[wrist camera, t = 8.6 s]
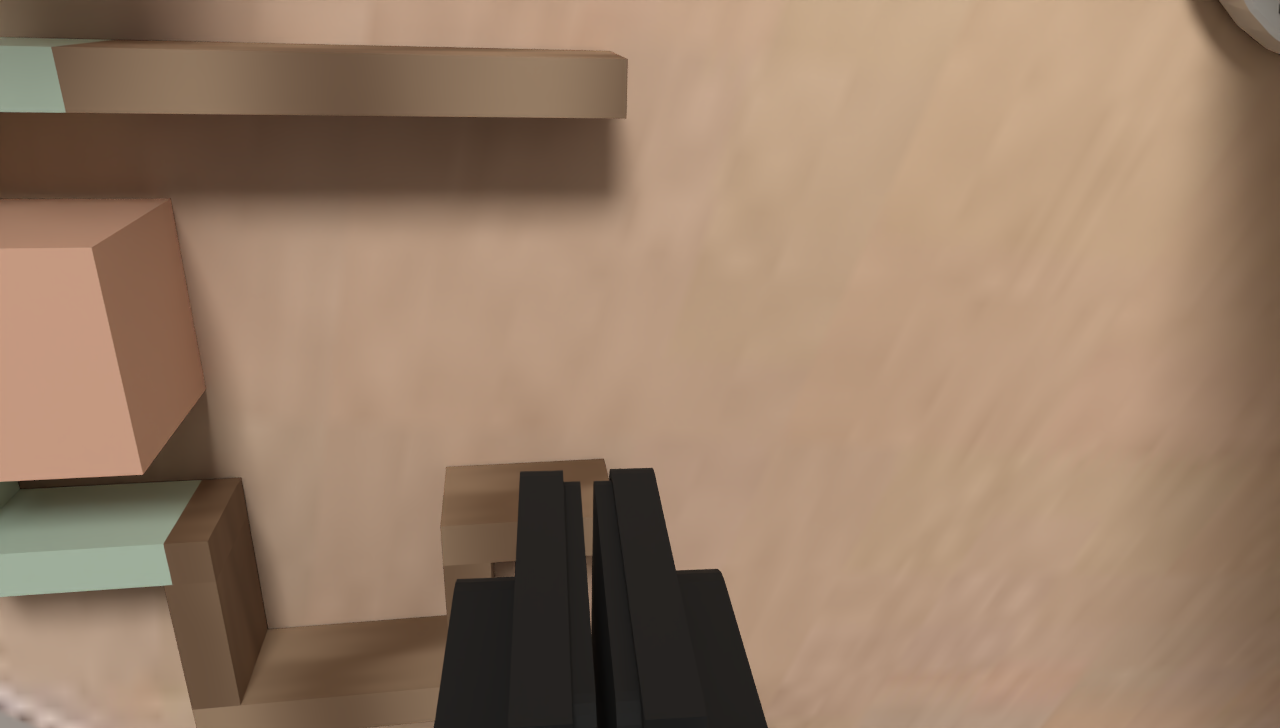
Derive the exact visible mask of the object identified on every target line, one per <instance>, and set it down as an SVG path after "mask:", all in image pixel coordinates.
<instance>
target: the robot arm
mask: <svg viewBox="0 0 1280 728" xmlns="http://www.w3.org/2000/svg"><path fill="white" fill-rule="evenodd" d="M1219 1H1220V2H1221V4H1222V5H1223V6H1224V8H1225V9H1226V11H1227V12H1228V13H1229V15H1230V16H1231V17H1232V19H1233V20H1234V22H1235V23H1236V24H1237V26H1239V27H1240V28H1241V29H1242V30H1244V31H1245V32H1246V33H1247V34H1249V35H1250V36H1251V37H1252V38H1254V39H1255V40H1256V41H1257V42H1259V43H1260V44H1261V45H1262V46H1263V47H1265V48H1266V49H1268V50H1270V51H1273V52H1275V53H1277V54H1280V0H1219ZM434 728H768V727H767V723H766V720H765V717H764V713H763V710H762V706H761V703H760V700H759V696H758V693H757V689H756V686H755V683H754V679H753V676H752V672H751V669H750V666H749V662H748V659H747V655H746V652H745V649H744V645H743V642H742V639H741V635H740V632H739V628H738V625H737V622H736V618H735V615H734V611H733V608H732V605H731V601H730V598H729V594H728V591H727V588H726V584H725V581H724V578H723V576H722V573H721V572H720V571H719V570H718V569H705V570H679V571H676V569H675V565H674V560H673V555H672V551H671V546H670V542H669V537H668V533H667V528H666V523H665V519H664V514H663V510H662V505H661V501H660V496H659V491H658V487H657V482H656V478H655V473H654V470H653V468H634V469H610V474H609V481H594V483H593V544H592V627H591V625H590V611H589V597H588V582H587V568H586V554H585V540H584V526H583V512H582V498H581V484H580V481H572V482H564V481H563V470H556V471H520V481H519V502H518V523H517V544H516V565H515V577H497V578H471V579H457V580H456V582H455V587H454V592H453V599H452V606H451V613H450V620H449V627H448V634H447V641H446V647H445V654H444V661H443V668H442V675H441V682H440V689H439V696H438V703H437V709H436V716H435V723H434Z"/></svg>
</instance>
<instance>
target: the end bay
mask: <svg viewBox="0 0 1280 728" xmlns="http://www.w3.org/2000/svg"><path fill="white" fill-rule="evenodd" d="M99 41H108V40H103V39H59V38H15V37H0V112H48V113H66V111H65V106H64V102H63V98H62V93H61V89H60V84H59V80H58V75H57V71H56V67H55V62H54V58H53V53H52V49H51V47H54V46H63V45H72V44H81V43H90V42H99ZM201 481H202V480H190V481H170V482H151V483H132V484H113V485H94V486H75V487H55V488H36V489H20V488H19V485H18V481H5V482H0V597H7V596H21V595H36V594H50V593H64V592H79V591H93V590H107V589H121V588H136V587H150V586H164V585H172V581H171V576H170V572H169V567H168V563H167V559H166V554H165V550H164V545H163V544H164V542H165V540H166V539H167V537H168V535H169V534H170V532H171V530H172V529H173V527H174V525H175V524H176V522H177V520H178V519H179V517H180V515H181V514H182V512H183V510H184V509H185V507H186V505H187V504H188V502H189V500H190V499H191V497H192V495H193V494H194V492H195V491H196V489H197V487H198V486H199V484H200V482H201Z"/></svg>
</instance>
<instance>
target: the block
mask: <svg viewBox="0 0 1280 728" xmlns="http://www.w3.org/2000/svg"><path fill="white" fill-rule="evenodd" d="M205 390H206V387H205V381H204V376H203V371H202V365H201V360H200V354H199V349H198V344H197V338H196V333H195V328H194V322H193V317H192V311H191V306H190V301H189V295H188V290H187V284H186V279H185V274H184V268H183V263H182V258H181V252H180V247H179V241H178V236H177V231H176V225H175V220H174V215H173V209H172V204H171V199H0V482H5V481H25V480H45V479H65V478H85V477H105V476H125V475H143V474H144V473H145V471H146V470H147V469H148V467H149V466H150V464H151V463H152V462H153V460H154V459H155V458H156V456H157V455H158V454H159V452H160V451H161V450H162V448H163V447H164V445H165V444H166V443H167V441H168V440H169V439H170V437H171V436H172V435H173V433H174V432H175V431H176V429H177V428H178V426H179V425H180V424H181V422H182V421H183V420H184V418H185V417H186V416H187V414H188V413H189V412H190V410H191V409H192V407H193V406H194V405H195V403H196V402H197V401H198V399H199V398H200V397H201V395H202V394H203V393H204V391H205Z"/></svg>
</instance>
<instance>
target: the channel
mask: <svg viewBox="0 0 1280 728" xmlns="http://www.w3.org/2000/svg"><path fill="white" fill-rule="evenodd" d="M51 49H52V53H53V58H54V62H55V67H56V71H57V75H58V80H59V84H60V89H61V93H62V98H63V102H64V106H65V111H66V113H144V114H240V115H337V116H433V117H529V118H625V119H626V113H627V68H628V59H626V58H624V57H622V56H620V55H617V54H615V53H613V52H611V51H586V50H542V49H498V48H455V47H411V46H367V45H323V44H279V43H235V42H191V41H147V40H108V41H99V42H90V43H81V44H72V45H63V46H54V47H51ZM556 470H563V481H564V482H572V481H580V484H581V498H582V512H583V526H584V540H585V554H586V556H592V544H593V483H594V481H609V478H608V474H607V470H606V466H605V462H604V459H592V460H573V461H554V462H534V463H515V464H496V465H477V466H458V467H446V475H445V485H444V495H443V506H442V516H441V526H440V528H441V541H442V555H443V569H444V582H445V596H446V610H447V615H446V616H433V617H420V618H407V619H395V620H382V621H369V622H357V623H344V624H331V625H318V626H306V627H293V628H280V629H268V628H267V623H266V617H265V611H264V606H263V600H262V594H261V589H260V583H259V577H258V572H257V566H256V560H255V555H254V549H253V543H252V538H251V532H250V526H249V521H248V515H247V509H246V504H245V498H244V492H243V487H242V481H241V478H228V479H209V480H202V481H201V482H200V484H199V486H198V487H197V489H196V491H195V492H194V494H193V495H192V497H191V499H190V500H189V502H188V504H187V505H186V507H185V509H184V510H183V512H182V514H181V515H180V517H179V519H178V520H177V522H176V524H175V525H174V527H173V529H172V530H171V532H170V534H169V535H168V537H167V539H166V540H165V542H164V544H163V545H164V550H165V554H166V559H167V563H168V567H169V572H170V576H171V581H172V585H164V589H165V593H166V598H167V602H168V606H169V611H170V615H171V619H172V624H173V628H174V632H175V637H176V641H177V645H178V650H179V654H180V658H181V663H182V667H183V671H184V676H185V680H186V684H187V689H188V693H189V697H190V702H191V706H192V710H193V715H194V719H195V723H196V728H368V727H378V726H389V725H399V724H409V723H419V722H430V721H435V716H436V709H437V703H438V696H439V689H440V682H441V675H442V668H443V661H444V654H445V647H446V641H447V634H448V627H449V620H450V613H451V606H452V599H453V592H454V587H455V582H456V580H457V579H471V578H494V562H508V561H516V544H517V523H518V502H519V481H520V471H556Z"/></svg>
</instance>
